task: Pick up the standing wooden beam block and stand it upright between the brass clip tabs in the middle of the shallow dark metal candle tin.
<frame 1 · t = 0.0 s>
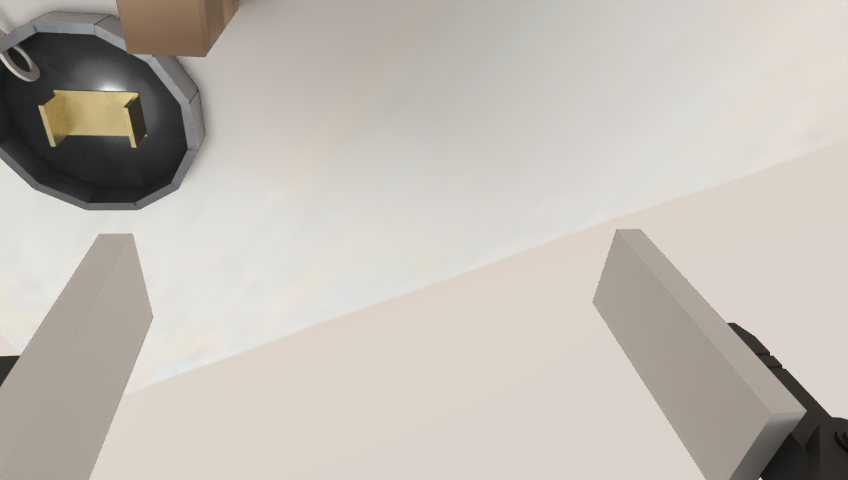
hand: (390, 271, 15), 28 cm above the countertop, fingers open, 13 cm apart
tin: (105, 110, 38), on the countertop
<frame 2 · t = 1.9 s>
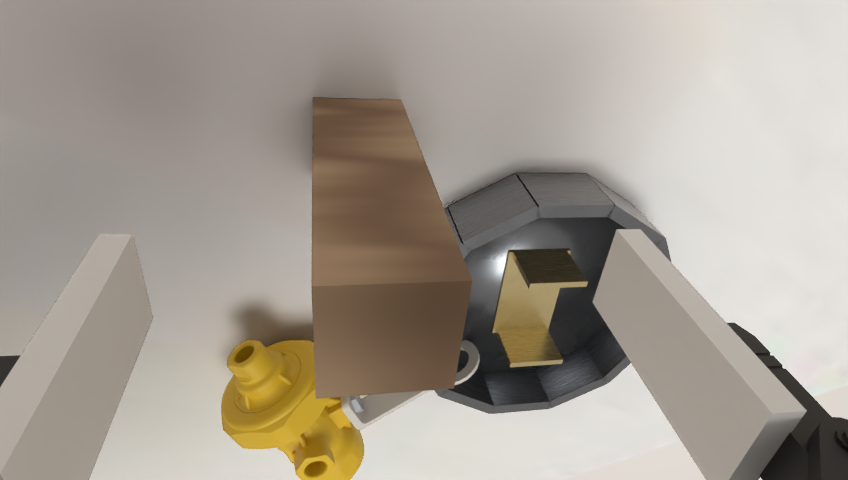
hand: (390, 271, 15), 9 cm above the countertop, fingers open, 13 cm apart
wooden beam block: (356, 139, 22), on the countertop
pressure relief valve: (355, 348, 29), on the countertop, touching tin
tin: (524, 284, 28), on the countertop
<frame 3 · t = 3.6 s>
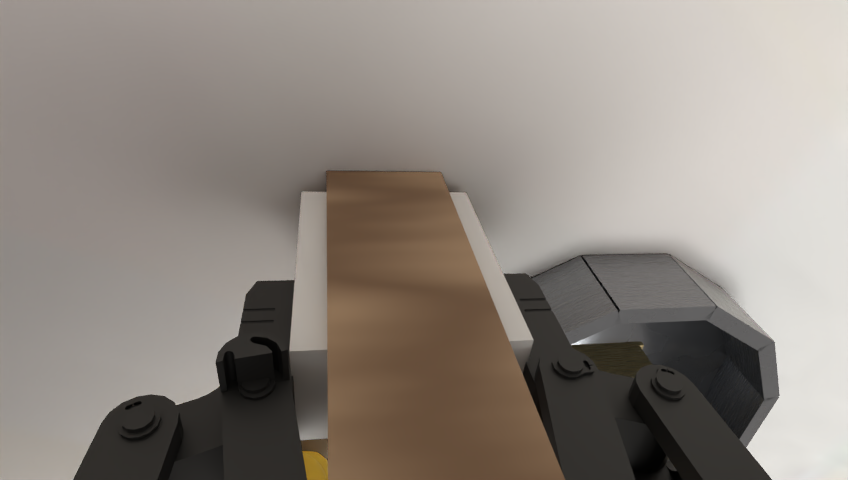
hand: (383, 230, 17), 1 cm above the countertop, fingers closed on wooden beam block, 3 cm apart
wooden beam block: (382, 220, 17), on the countertop, touching gripper
pressure relief valve: (374, 452, 24), on the countertop, touching tin
tin: (582, 378, 23), on the countertop
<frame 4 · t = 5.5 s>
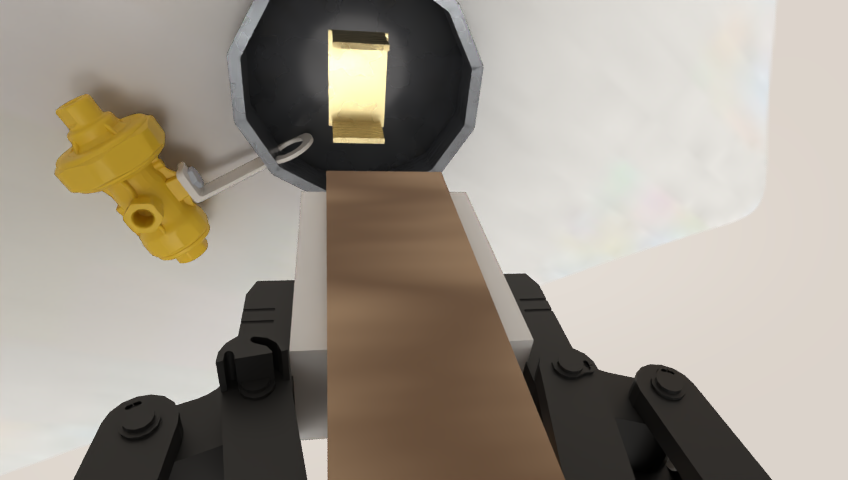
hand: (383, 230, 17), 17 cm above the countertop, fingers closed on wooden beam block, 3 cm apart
wooden beam block: (382, 220, 17), point 16 cm above the countertop, touching gripper
pressure relief valve: (203, 138, 31), on the countertop, touching tin
tin: (356, 77, 31), on the countertop
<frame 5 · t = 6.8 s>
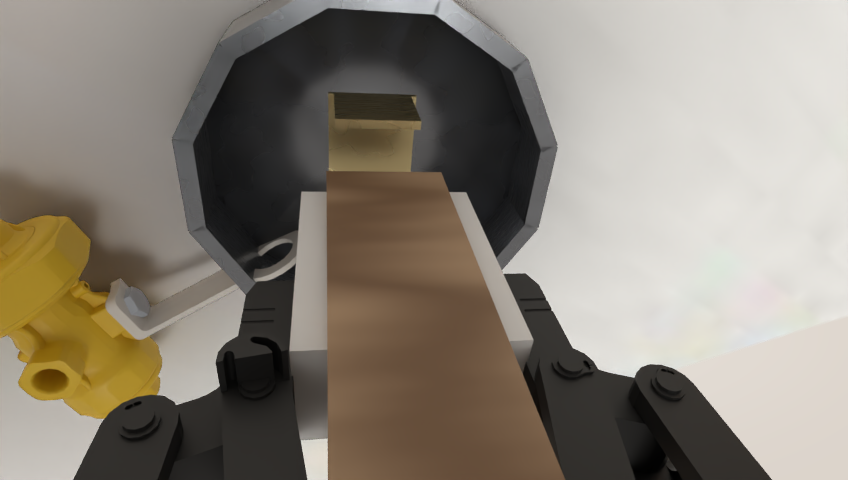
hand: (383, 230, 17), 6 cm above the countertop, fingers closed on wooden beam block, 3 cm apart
wooden beam block: (382, 220, 17), point 5 cm above the countertop, touching gripper
pressure relief valve: (151, 239, 22), on the countertop, touching tin
tin: (369, 153, 22), on the countertop
when the fingers open (2 cm above the countertop, at t = 7.8 s): wooden beam block stays where it is, resting on tin.
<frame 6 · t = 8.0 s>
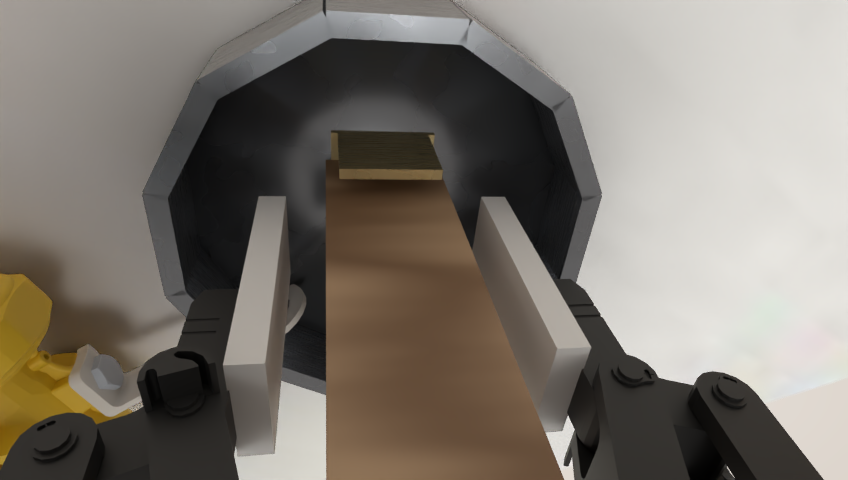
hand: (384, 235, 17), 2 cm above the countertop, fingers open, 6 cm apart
wooden beam block: (379, 208, 18), point 1 cm above the countertop, touching tin
pressure relief valve: (126, 294, 19), on the countertop, touching tin
tin: (378, 197, 19), on the countertop
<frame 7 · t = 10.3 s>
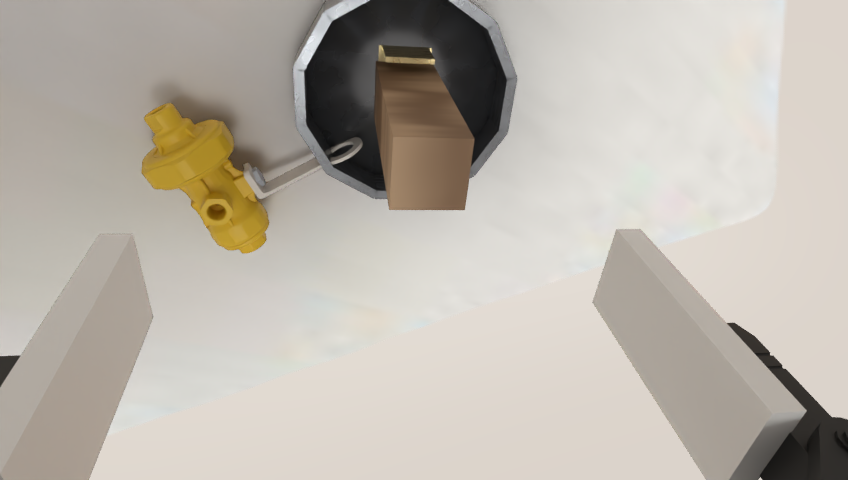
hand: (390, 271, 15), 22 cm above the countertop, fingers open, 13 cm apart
wooden beam block: (402, 90, 34), point 1 cm above the countertop, touching tin
pressure relief valve: (263, 142, 35), on the countertop, touching tin
tin: (401, 86, 34), on the countertop
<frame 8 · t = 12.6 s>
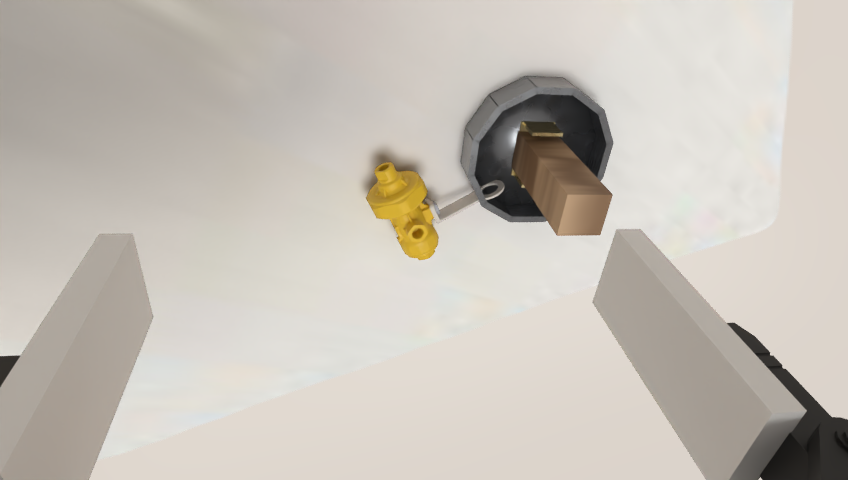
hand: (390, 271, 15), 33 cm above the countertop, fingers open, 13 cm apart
wooden beam block: (532, 149, 50), point 1 cm above the countertop, touching tin
pressure relief valve: (433, 183, 51), on the countertop, touching tin
tin: (530, 146, 50), on the countertop
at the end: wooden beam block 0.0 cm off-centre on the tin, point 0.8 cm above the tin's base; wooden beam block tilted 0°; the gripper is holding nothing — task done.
